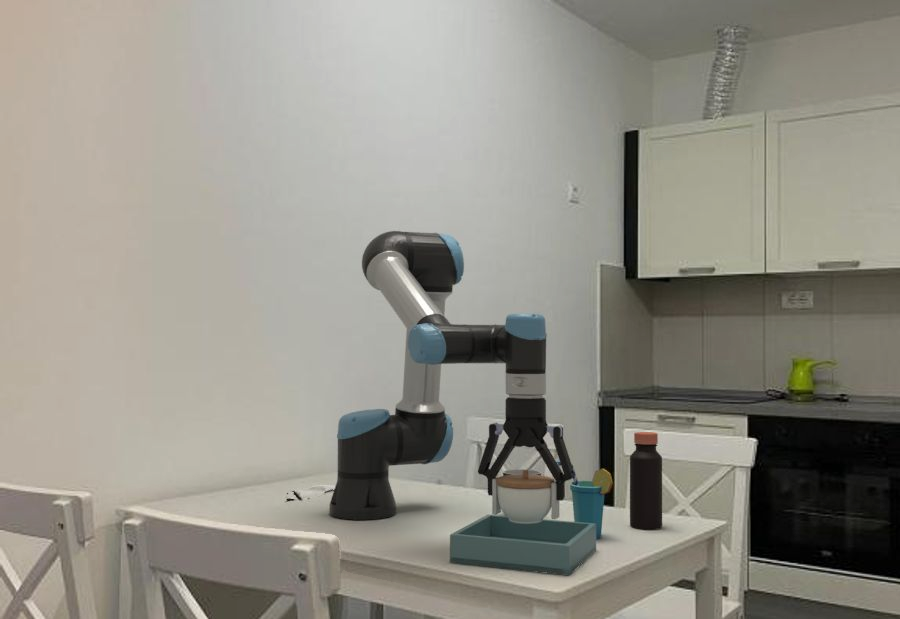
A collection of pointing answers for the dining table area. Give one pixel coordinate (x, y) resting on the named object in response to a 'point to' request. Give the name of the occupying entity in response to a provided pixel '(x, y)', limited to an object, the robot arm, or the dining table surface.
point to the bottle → (646, 483)
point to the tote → (524, 544)
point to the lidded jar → (524, 497)
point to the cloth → (308, 494)
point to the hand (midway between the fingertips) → (525, 515)
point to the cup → (590, 498)
